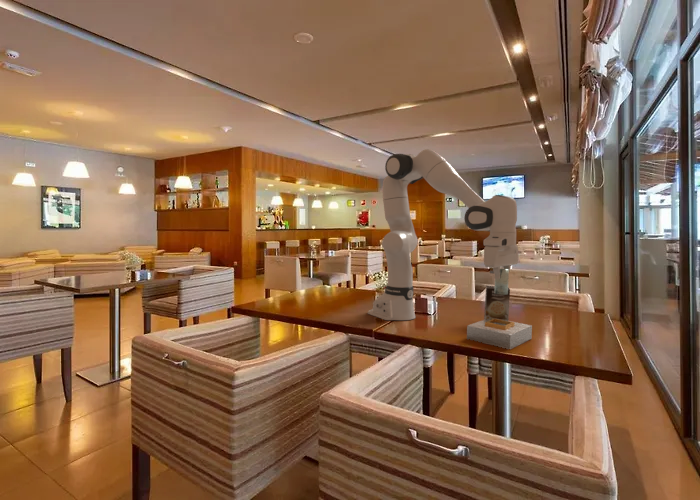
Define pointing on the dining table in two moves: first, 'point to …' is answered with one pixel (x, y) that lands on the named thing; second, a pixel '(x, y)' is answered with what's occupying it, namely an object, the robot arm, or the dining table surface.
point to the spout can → (502, 282)
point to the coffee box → (496, 304)
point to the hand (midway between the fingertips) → (501, 278)
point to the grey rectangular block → (499, 332)
